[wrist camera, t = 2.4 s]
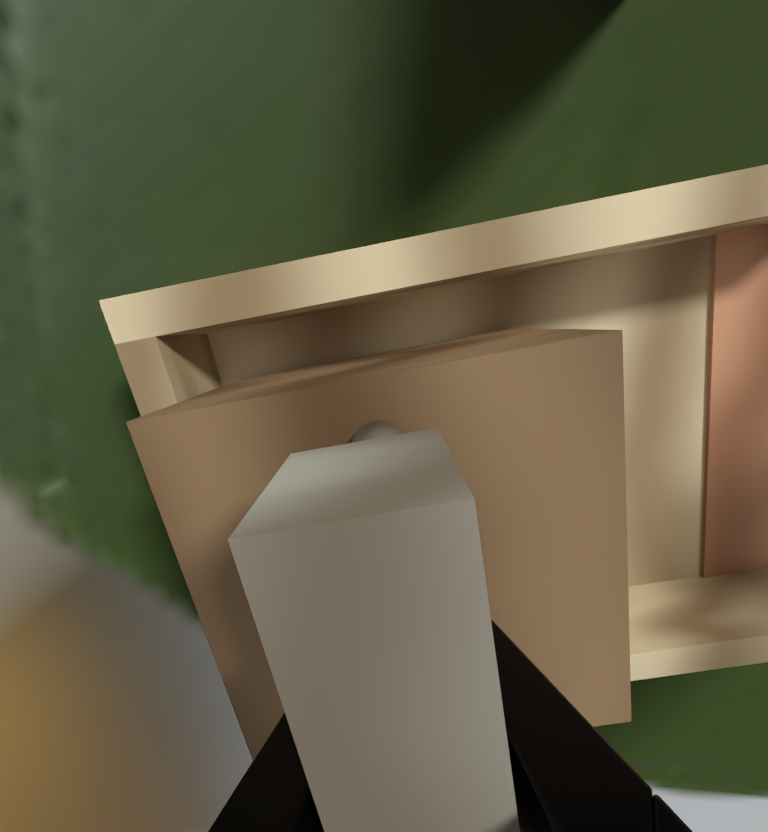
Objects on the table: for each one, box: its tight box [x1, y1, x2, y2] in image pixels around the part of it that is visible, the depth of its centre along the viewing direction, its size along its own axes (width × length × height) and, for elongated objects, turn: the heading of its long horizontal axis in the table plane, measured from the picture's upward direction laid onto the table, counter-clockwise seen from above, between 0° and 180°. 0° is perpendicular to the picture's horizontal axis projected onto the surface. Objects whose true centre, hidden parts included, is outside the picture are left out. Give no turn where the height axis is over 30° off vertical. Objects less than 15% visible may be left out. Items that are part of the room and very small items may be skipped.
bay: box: [99, 165, 768, 681], centre depth 13 cm, size 22×16×4 cm
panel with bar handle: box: [126, 328, 631, 832], centre depth 9 cm, size 10×10×10 cm
